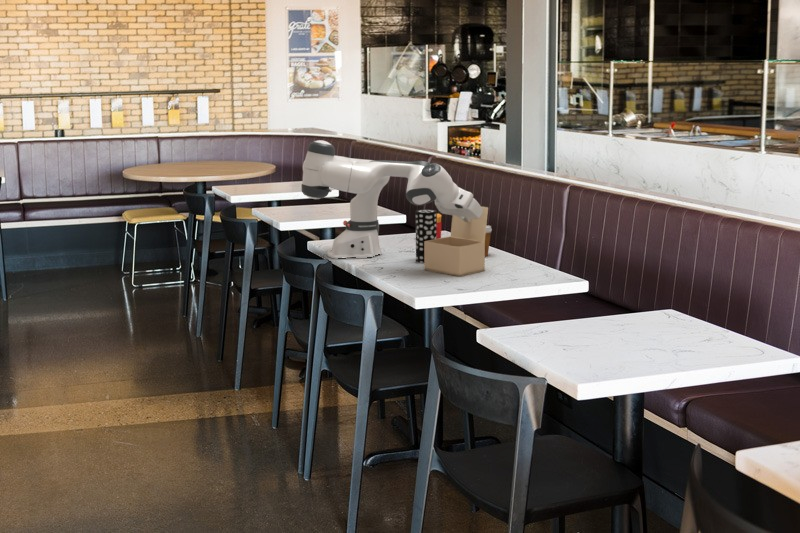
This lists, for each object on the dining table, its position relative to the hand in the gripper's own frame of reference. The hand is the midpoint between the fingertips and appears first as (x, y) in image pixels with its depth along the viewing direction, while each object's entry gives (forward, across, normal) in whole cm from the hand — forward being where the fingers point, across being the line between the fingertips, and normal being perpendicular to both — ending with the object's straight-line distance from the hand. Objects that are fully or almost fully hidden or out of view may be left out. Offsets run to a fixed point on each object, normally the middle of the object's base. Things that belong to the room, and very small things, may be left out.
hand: (468, 220), depth 369 cm
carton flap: (+1, 0, 0) cm, 1 cm away
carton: (+8, 0, -18) cm, 20 cm away
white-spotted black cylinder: (+12, -20, -14) cm, 27 cm away
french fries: (+33, -45, +8) cm, 57 cm away
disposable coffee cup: (+28, -12, +2) cm, 30 cm away
